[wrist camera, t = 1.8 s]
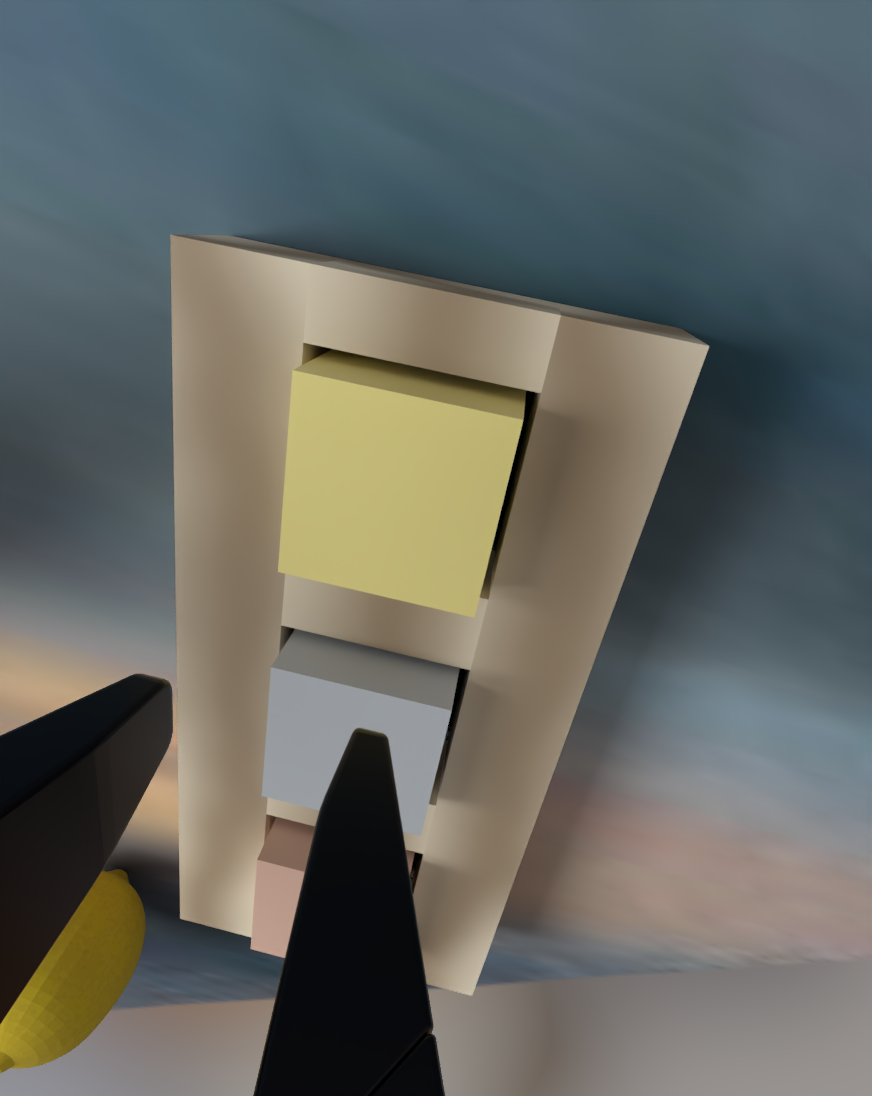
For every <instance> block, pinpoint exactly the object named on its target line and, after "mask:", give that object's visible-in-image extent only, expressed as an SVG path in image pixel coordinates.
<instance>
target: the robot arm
mask: <svg viewBox="0 0 872 1096" xmlns="http://www.w3.org/2000/svg"><path fill="white" fill-rule="evenodd" d="M172 733H173V706H172V687H171V684H170V683H169V682H168V681H167V680H165V679H161V678H157V677H153V676H149V675H145V674H134V675H131V676H129V677H127V678H124V679H122V680H120V681H118V682H116V683H114V684H111V685H109V686H107V687H105V688H103V689H101V690H98V691H96V692H94V693H92V694H90V695H88V696H85V697H83V698H81V699H79V700H77V701H75V702H72V703H70V704H68V705H66V706H64V707H62V708H59V709H57V710H55V711H53V712H51V713H49V714H46V715H44V716H42V717H40V718H38V719H36V720H33V721H31V722H29V723H27V724H25V725H22V726H20V727H18V728H16V729H14V730H12V731H9V732H7V733H5V734H3V735H1V736H0V1024H1V1023H2V1021H3V1020H4V1018H5V1017H6V1015H7V1014H8V1012H9V1011H10V1009H11V1008H12V1006H13V1005H14V1003H15V1002H16V1000H17V999H18V997H19V996H20V994H21V993H22V991H23V990H24V988H25V987H26V985H27V984H28V982H29V981H30V979H31V978H32V976H33V975H34V973H35V972H36V970H37V969H38V967H39V966H40V964H41V963H42V961H43V960H44V958H45V957H46V955H47V954H48V952H49V951H50V949H51V948H52V946H53V945H54V943H55V942H56V940H57V939H58V937H59V936H60V934H61V933H62V931H63V930H64V928H65V927H66V925H67V924H68V922H69V921H70V919H71V918H72V916H73V915H74V913H75V912H76V910H77V909H78V907H79V906H80V904H81V903H82V901H83V900H84V898H85V897H86V895H87V894H88V892H89V891H90V889H91V888H92V886H93V884H94V883H95V881H96V880H97V878H98V877H99V875H100V873H101V872H102V870H103V869H104V867H105V865H106V864H107V862H108V860H109V858H110V856H111V855H112V853H113V851H114V849H115V848H116V846H117V844H118V842H119V840H120V838H121V836H122V834H123V832H124V831H125V829H126V827H127V825H128V823H129V821H130V819H131V817H132V815H133V814H134V812H135V810H136V808H137V806H138V804H139V802H140V800H141V798H142V797H143V795H144V793H145V791H146V789H147V787H148V785H149V783H150V781H151V780H152V778H153V776H154V774H155V772H156V770H157V768H158V766H159V765H160V763H161V761H162V759H163V757H164V755H165V753H166V751H167V749H168V747H169V744H170V741H171V738H172ZM431 1014H432V1013H431V1007H430V1001H429V994H428V988H427V981H426V975H425V969H424V962H423V956H422V950H421V943H420V937H419V930H418V924H417V918H416V911H415V905H414V899H413V892H412V886H411V879H410V873H409V867H408V860H407V854H406V848H405V841H404V835H403V828H402V822H401V816H400V809H399V803H398V797H397V790H396V784H395V777H394V771H393V765H392V758H391V752H390V746H389V740H388V737H387V736H386V735H385V734H384V733H380V732H376V731H372V730H368V729H364V728H356V729H355V730H354V731H353V732H352V734H351V737H350V739H349V741H348V744H347V746H346V748H345V751H344V753H343V755H342V757H341V760H340V762H339V764H338V767H337V769H336V771H335V773H334V776H333V778H332V780H331V783H330V785H329V787H328V790H327V792H326V794H325V797H324V799H323V802H322V805H321V807H320V810H319V814H318V817H317V821H316V824H315V829H314V833H313V838H312V842H311V846H310V851H309V855H308V859H307V864H306V868H305V872H304V877H303V881H302V886H301V890H300V894H299V899H298V903H297V907H296V912H295V916H294V920H293V925H292V929H291V934H290V938H289V942H288V947H287V951H286V955H285V960H284V964H283V968H282V973H281V977H280V982H279V986H278V990H277V995H276V999H275V1003H274V1008H273V1012H272V1017H271V1021H270V1025H269V1030H268V1034H267V1039H266V1043H265V1047H264V1051H263V1056H262V1060H261V1065H260V1069H259V1073H258V1078H257V1082H256V1086H255V1091H254V1095H253V1096H445V1092H444V1086H443V1080H442V1074H441V1068H440V1062H439V1056H438V1049H437V1043H436V1037H435V1036H434V1035H433V1034H431V1033H432V1030H433V1020H432V1015H431Z"/></svg>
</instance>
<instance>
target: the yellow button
mask: <svg viewBox="0 0 872 1096" xmlns="http://www.w3.org/2000/svg"><path fill="white" fill-rule="evenodd" d="M525 397H526V390H523V389H518V388H513V387H509V386H504V385H499V384H495V383H490V382H485V381H481V380H476V379H471V378H467V377H462V376H457V375H453V374H448V373H443V372H438V371H434V370H429V369H424V368H420V367H415V366H410V365H406V364H401V363H396V362H392V361H387V360H382V359H378V358H373V357H368V356H364V355H359V354H354V353H350V352H345V351H340V350H336V349H332V350H330V351H328V352H326V353H324V354H322V355H320V356H318V357H316V358H315V359H313V360H311V361H309V362H307V363H305V364H303V365H301V366H299V367H297V368H296V369H294V370H292V382H291V396H290V410H289V424H288V438H287V452H286V465H285V479H284V493H283V507H282V521H281V535H280V549H279V562H278V572H280V573H285V574H289V575H293V576H297V577H302V578H306V579H310V580H315V581H319V582H323V583H327V584H332V585H336V586H340V587H345V588H349V589H353V590H357V591H362V592H366V593H370V594H374V595H379V596H383V597H387V598H392V599H396V600H400V601H404V602H409V603H413V604H417V605H422V606H426V607H430V608H434V609H439V610H443V611H447V612H452V613H456V614H460V615H464V616H469V617H473V618H475V614H476V610H477V606H478V602H479V598H480V594H481V590H482V586H483V582H484V578H485V574H486V570H487V566H488V562H489V558H490V554H491V550H492V546H493V542H494V537H495V533H496V529H497V525H498V521H499V517H500V513H501V509H502V505H503V501H504V497H505V493H506V489H507V485H508V481H509V477H510V473H511V469H512V465H513V461H514V457H515V452H516V448H517V444H518V440H519V436H520V432H521V428H522V424H523V420H524V409H525Z"/></svg>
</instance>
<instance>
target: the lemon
mask: <svg viewBox="0 0 872 1096" xmlns="http://www.w3.org/2000/svg"><path fill="white" fill-rule="evenodd" d="M145 928H146V921H145V913H144V908H143V905H142V901H141V899H140V897H139V896H138V894H137V892H136V890H135V889H134V888H133V887H132V886H131V885H130V884H129V880H128V876H127V873H126V872H125V871H123V870H121V869H115V870H111V871H108V872H106V871H102V872H101V873H100V875H99V877H98V878H97V880H96V881H95V883H94V884H93V886H92V888H91V889H90V891H89V892H88V894H87V895H86V897H85V898H84V900H83V901H82V903H81V904H80V906H79V907H78V909H77V910H76V912H75V913H74V915H73V916H72V918H71V919H70V921H69V922H68V924H67V925H66V927H65V928H64V930H63V931H62V933H61V934H60V936H59V937H58V939H57V940H56V942H55V943H54V945H53V946H52V948H51V949H50V951H49V952H48V954H47V955H46V957H45V958H44V960H43V961H42V963H41V964H40V966H39V967H38V969H37V970H36V972H35V973H34V975H33V976H32V978H31V979H30V981H29V982H28V984H27V985H26V987H25V988H24V990H23V991H22V993H21V994H20V996H19V997H18V999H17V1000H16V1002H15V1003H14V1005H13V1006H12V1008H11V1009H10V1011H9V1012H8V1014H7V1015H6V1017H5V1018H4V1020H3V1021H2V1023H1V1024H0V1073H2V1072H4V1071H6V1070H7V1069H9V1068H30V1067H35V1066H39V1065H43V1064H45V1063H48V1062H50V1061H53V1060H55V1059H57V1058H59V1057H61V1056H63V1055H65V1054H66V1053H68V1052H70V1051H71V1050H72V1049H74V1048H75V1047H76V1046H78V1045H79V1044H80V1043H81V1042H82V1041H83V1040H85V1039H86V1038H87V1037H88V1036H89V1035H90V1034H91V1032H92V1031H93V1030H94V1029H95V1028H96V1027H97V1026H98V1025H99V1023H100V1022H101V1021H102V1020H103V1019H104V1017H105V1016H106V1015H107V1014H108V1012H109V1011H110V1010H111V1008H112V1007H113V1006H114V1004H115V1003H116V1002H117V1000H118V999H119V997H120V996H121V994H122V993H123V991H124V989H125V988H126V986H127V984H128V983H129V981H130V979H131V977H132V975H133V973H134V970H135V968H136V966H137V963H138V960H139V958H140V954H141V951H142V947H143V942H144V936H145Z"/></svg>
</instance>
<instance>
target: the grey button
mask: <svg viewBox="0 0 872 1096" xmlns="http://www.w3.org/2000/svg"><path fill="white" fill-rule="evenodd" d="M459 669H460V668H458V667H454V666H450V665H446V664H442V663H437V662H433V661H429V660H425V659H421V658H416V657H412V656H408V655H404V654H400V653H395V652H391V651H387V650H383V649H379V648H374V647H370V646H366V645H362V644H357V643H353V642H349V641H345V640H341V639H336V638H332V637H328V636H324V635H320V634H315V633H311V632H307V631H303V630H299V629H295V630H294V631H293V633H292V634H291V636H290V638H289V639H288V641H287V642H286V644H285V646H284V647H283V649H282V650H281V652H280V654H279V655H278V657H277V658H276V660H275V662H274V663H273V665H272V666H271V673H270V687H269V701H268V715H267V729H266V743H265V757H264V770H263V784H262V796H264V797H268V798H272V799H276V800H280V801H284V802H287V803H291V804H295V805H299V806H303V807H307V808H311V809H315V810H320V807H321V805H322V802H323V799H324V797H325V794H326V792H327V790H328V787H329V785H330V783H331V780H332V778H333V776H334V773H335V771H336V769H337V767H338V764H339V762H340V760H341V757H342V755H343V753H344V751H345V748H346V746H347V744H348V741H349V739H350V737H351V734H352V732H353V731H354V730H355V729H356V728H364V729H368V730H372V731H376V732H380V733H384V734H385V735H386V736H387V737H388V740H389V746H390V752H391V758H392V765H393V771H394V777H395V784H396V790H397V797H398V803H399V809H400V816H401V822H402V828H403V832H406V833H410V834H414V835H418V836H421V833H422V829H423V825H424V821H425V817H426V813H427V809H428V805H429V801H430V797H431V792H432V788H433V784H434V780H435V776H436V772H437V768H438V764H439V760H440V756H441V752H442V748H443V744H444V740H445V736H446V732H447V728H448V724H449V720H450V716H451V712H452V706H453V701H454V696H455V690H456V685H457V680H458V674H459Z"/></svg>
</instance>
